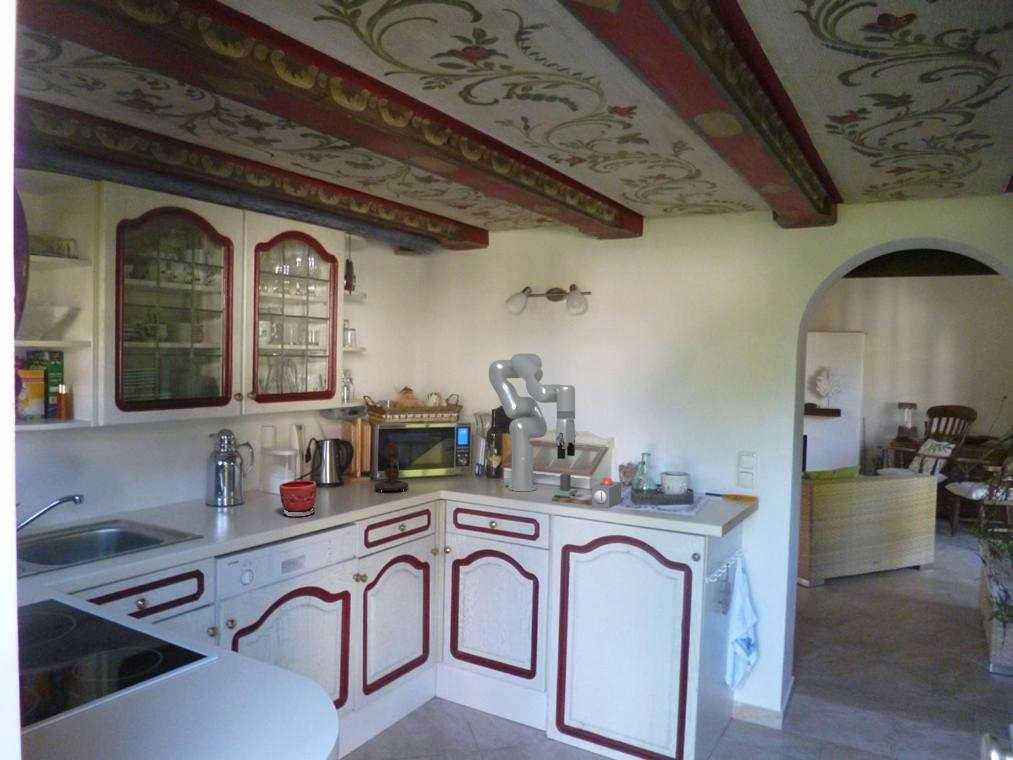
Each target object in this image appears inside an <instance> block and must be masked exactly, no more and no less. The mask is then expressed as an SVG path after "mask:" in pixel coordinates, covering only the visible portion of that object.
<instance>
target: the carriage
mask: <svg viewBox="0 0 1013 760" xmlns="http://www.w3.org/2000/svg"><path fill="white" fill-rule="evenodd" d="M571 478H572V477H571V473H560V475H559V482H560V483H559V488H557V489H555V490H553V493H552V494H553V496H554V495H561V496H571V495H573V494H578V489H577V488H572V487H571V483H572V482H571V481H572V479H571Z"/></svg>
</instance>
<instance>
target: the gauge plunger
mask: <svg viewBox="0 0 1013 760" xmlns="http://www.w3.org/2000/svg"><path fill="white" fill-rule="evenodd" d="M601 482H602V485H608V486H611V482H613V480H612V478H608V477H607V478H606V477H605V478H602V479H601Z"/></svg>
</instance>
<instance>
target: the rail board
mask: <svg viewBox="0 0 1013 760" xmlns="http://www.w3.org/2000/svg"><path fill="white" fill-rule="evenodd" d="M551 502H559V503H570V504H579V505H588V506H592V494H581V493H580V494H579V493H576V494H573V495H571V496H561V495H553V496H551Z"/></svg>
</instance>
